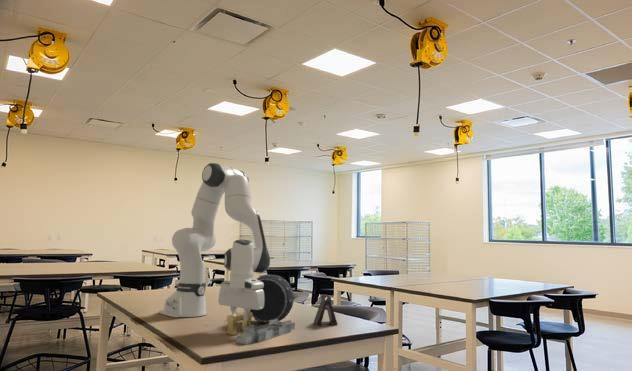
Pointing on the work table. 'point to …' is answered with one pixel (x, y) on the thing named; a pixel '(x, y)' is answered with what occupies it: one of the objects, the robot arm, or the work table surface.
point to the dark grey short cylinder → (274, 299)
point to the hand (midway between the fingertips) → (239, 319)
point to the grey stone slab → (264, 331)
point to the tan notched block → (235, 318)
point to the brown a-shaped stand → (322, 308)
